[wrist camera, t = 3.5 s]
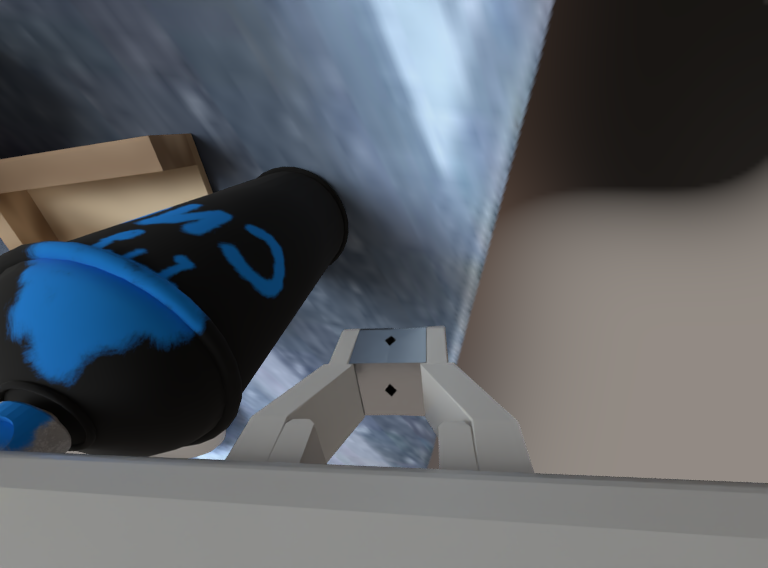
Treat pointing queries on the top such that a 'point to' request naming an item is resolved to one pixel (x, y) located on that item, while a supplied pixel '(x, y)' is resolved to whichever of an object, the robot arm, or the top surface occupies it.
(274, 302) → the aerosol can
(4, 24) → the top surface
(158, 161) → the wooden tray
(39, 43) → the top surface
